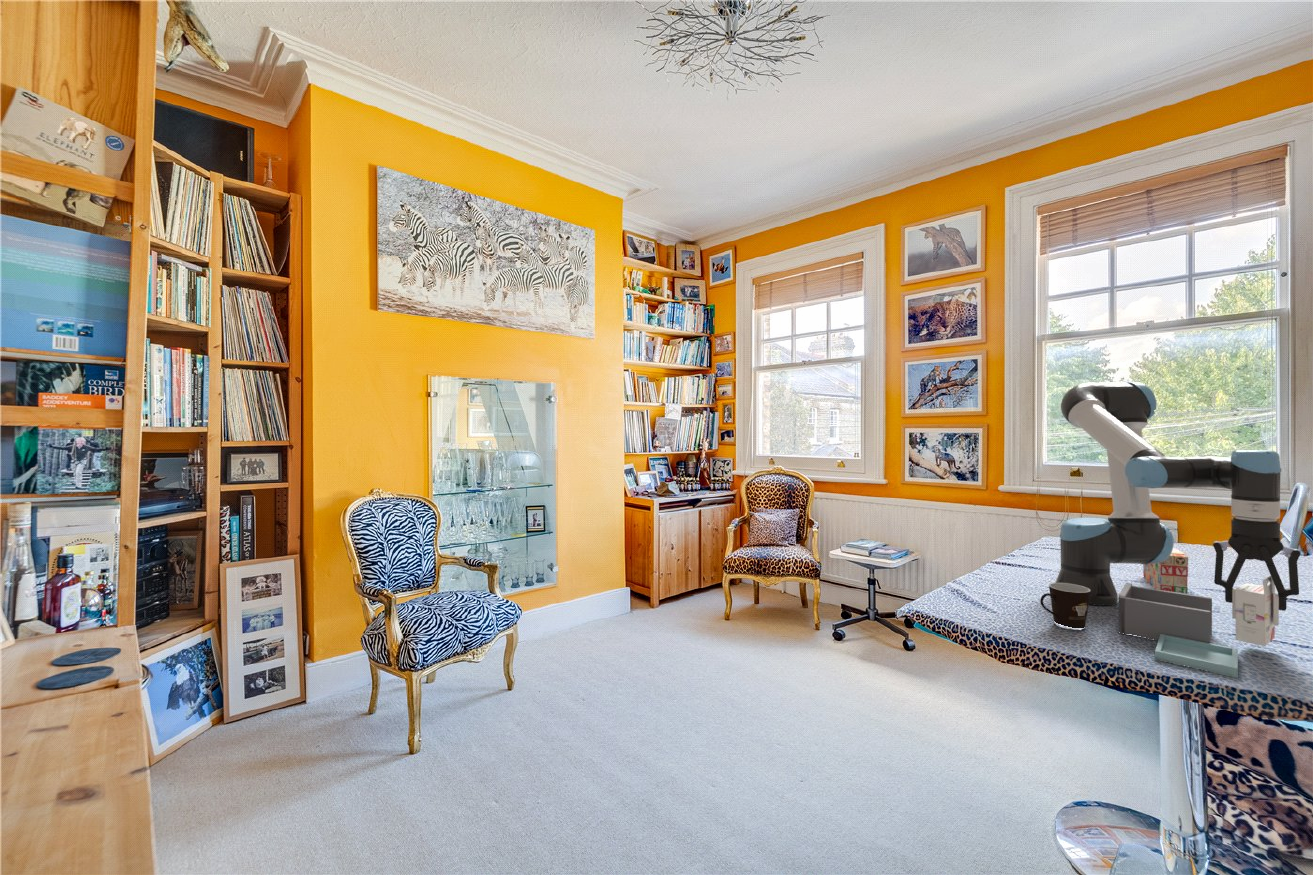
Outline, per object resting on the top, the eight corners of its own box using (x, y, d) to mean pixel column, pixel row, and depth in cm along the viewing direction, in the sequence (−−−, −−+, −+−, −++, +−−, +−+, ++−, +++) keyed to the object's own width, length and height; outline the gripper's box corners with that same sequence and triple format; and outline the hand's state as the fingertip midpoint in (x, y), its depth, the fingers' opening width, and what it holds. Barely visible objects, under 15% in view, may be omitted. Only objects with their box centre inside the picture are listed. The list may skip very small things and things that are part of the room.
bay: (1118, 633, 138) (1118, 594, 138) (1126, 618, 148) (1126, 582, 148) (1210, 651, 126) (1210, 609, 126) (1211, 634, 136) (1212, 595, 136)
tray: (1154, 659, 122) (1154, 650, 122) (1160, 642, 132) (1160, 634, 132) (1237, 678, 113) (1237, 668, 113) (1237, 657, 123) (1237, 648, 123)
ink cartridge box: (1244, 631, 130) (1244, 569, 130) (1275, 638, 126) (1276, 574, 126) (1233, 640, 126) (1234, 575, 125) (1265, 647, 122) (1266, 580, 121)
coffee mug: (1082, 622, 146) (1082, 584, 146) (1096, 633, 138) (1096, 593, 138) (1031, 617, 150) (1030, 580, 149) (1041, 629, 142) (1041, 590, 141)
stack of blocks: (1142, 577, 186) (1142, 540, 186) (1167, 579, 183) (1167, 542, 182) (1160, 594, 167) (1160, 554, 167) (1188, 597, 164) (1188, 556, 164)
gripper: (1196, 516, 130) (1196, 615, 130) (1321, 525, 116) (1320, 635, 117) (1198, 512, 135) (1198, 607, 135) (1317, 520, 121) (1316, 626, 122)
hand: (1254, 620), depth 126 cm, fingers closed on ink cartridge box, 6 cm apart
